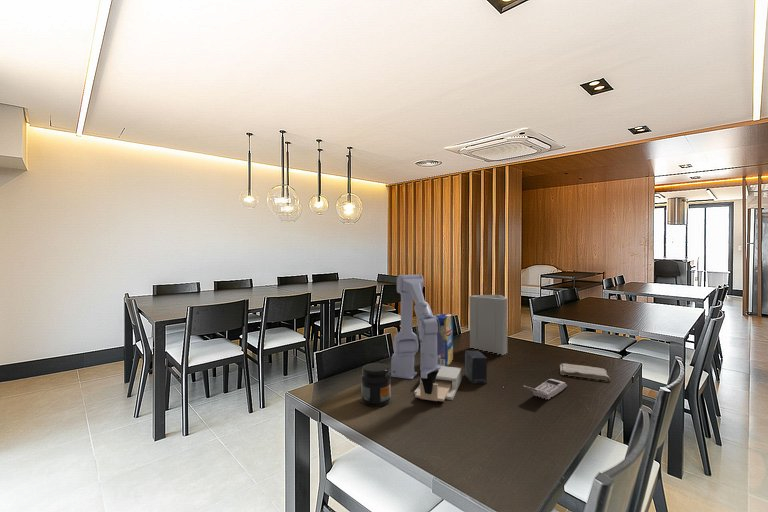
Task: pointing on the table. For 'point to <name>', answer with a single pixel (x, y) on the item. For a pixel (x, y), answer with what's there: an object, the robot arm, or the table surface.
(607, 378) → the washcloth
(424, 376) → the robot arm
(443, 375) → the ticket dispenser
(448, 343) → the beverage box
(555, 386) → the mobile phone
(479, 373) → the small box
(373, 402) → the supplement container
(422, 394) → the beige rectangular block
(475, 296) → the grey tall box
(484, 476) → the table surface
